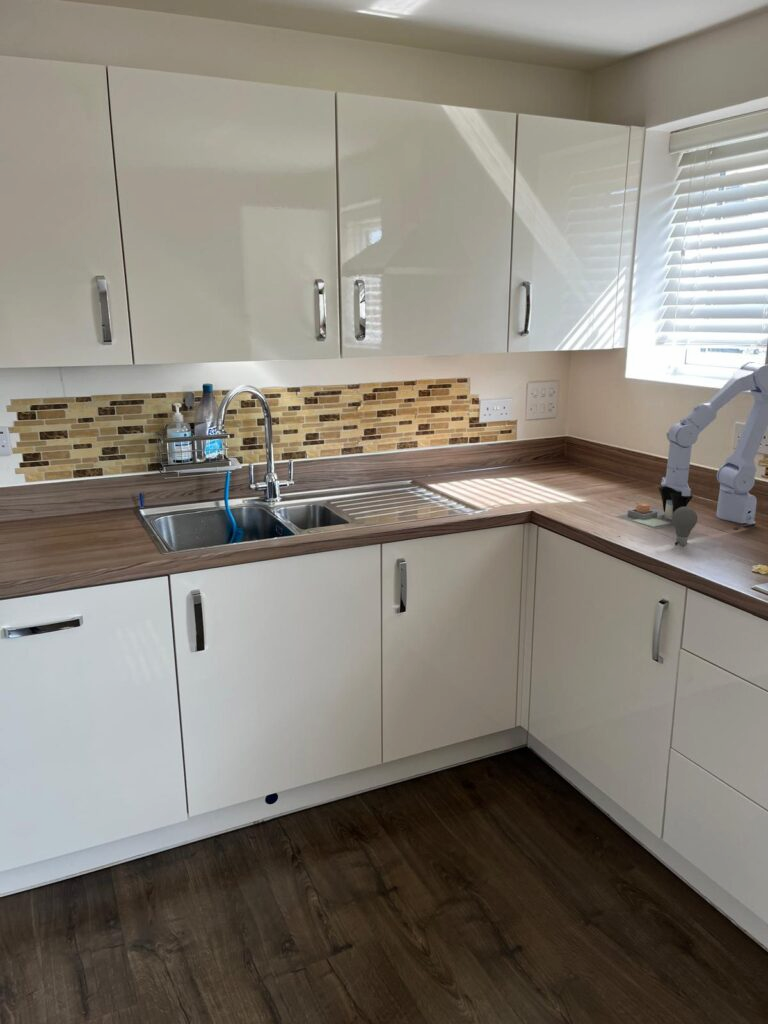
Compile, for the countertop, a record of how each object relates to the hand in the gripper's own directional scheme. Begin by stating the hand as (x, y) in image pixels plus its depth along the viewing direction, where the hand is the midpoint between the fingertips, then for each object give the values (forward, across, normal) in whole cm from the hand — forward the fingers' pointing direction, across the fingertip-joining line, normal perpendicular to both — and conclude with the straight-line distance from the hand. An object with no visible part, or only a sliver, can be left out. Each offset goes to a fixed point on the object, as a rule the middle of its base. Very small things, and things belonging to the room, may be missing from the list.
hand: (672, 514), depth 213 cm
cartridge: (+2, 0, 0) cm, 2 cm away
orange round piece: (0, -1, -8) cm, 8 cm away
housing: (+2, 0, -5) cm, 5 cm away
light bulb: (+2, +21, -6) cm, 22 cm away
